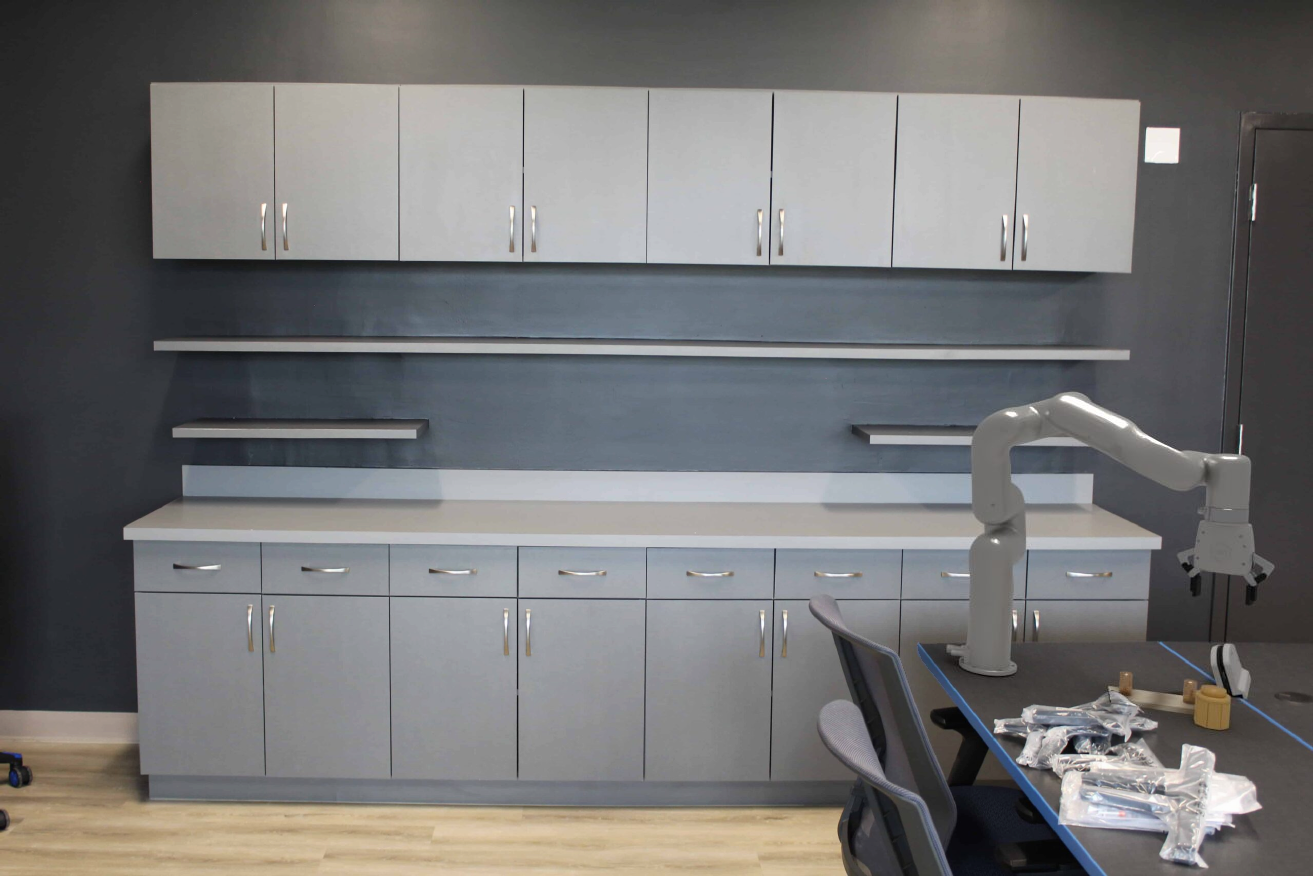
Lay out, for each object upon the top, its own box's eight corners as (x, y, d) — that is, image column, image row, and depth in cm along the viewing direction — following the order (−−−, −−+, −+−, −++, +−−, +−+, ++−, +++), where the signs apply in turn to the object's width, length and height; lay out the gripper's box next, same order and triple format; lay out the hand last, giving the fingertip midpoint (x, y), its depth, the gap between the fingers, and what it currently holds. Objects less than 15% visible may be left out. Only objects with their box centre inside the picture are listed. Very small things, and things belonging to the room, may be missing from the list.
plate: (1110, 703, 207) (1110, 698, 207) (1108, 691, 214) (1108, 686, 214) (1208, 717, 200) (1208, 711, 200) (1202, 704, 208) (1202, 698, 208)
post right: (1183, 703, 204) (1184, 682, 204) (1181, 699, 206) (1183, 678, 206) (1196, 705, 203) (1198, 684, 203) (1194, 701, 206) (1196, 680, 205)
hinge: (1247, 701, 210) (1232, 655, 211) (1222, 703, 212) (1207, 658, 213) (1251, 678, 224) (1237, 635, 224) (1227, 681, 226) (1214, 638, 227)
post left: (1119, 695, 209) (1120, 674, 208) (1118, 691, 211) (1119, 670, 210) (1131, 696, 208) (1133, 675, 207) (1130, 693, 210) (1132, 672, 209)
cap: (1196, 726, 195) (1198, 691, 194) (1192, 716, 200) (1194, 681, 200) (1230, 731, 193) (1233, 695, 192) (1225, 721, 198) (1228, 686, 198)
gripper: (1173, 513, 202) (1170, 595, 203) (1271, 523, 190) (1266, 611, 191) (1186, 509, 207) (1182, 589, 209) (1281, 518, 195) (1276, 604, 196)
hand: (1222, 600), depth 200 cm, fingers open, 9 cm apart
